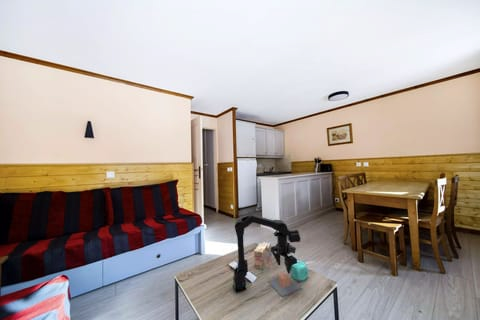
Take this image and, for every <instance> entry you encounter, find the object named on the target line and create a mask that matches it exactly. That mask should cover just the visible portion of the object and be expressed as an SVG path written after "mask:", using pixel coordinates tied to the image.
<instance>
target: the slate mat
mask: <svg viewBox="0 0 480 320" xmlns="http://www.w3.org/2000/svg"><path fill="white" fill-rule="evenodd" d="M267 283H268V284H270V285H271V286H272V288H273V289H274V290H275V291H276V293H277V294H279V296H280V297H282V298H283V297H285V296H288V295H290V294H292V293H295V292H298V291H300V290H302V289H303V287H302V286H300V285H299V283H297V282H296V281H295V279H293V277H292V278H291V277H290V286H287V287H285V288H283V287H282V286H281V285H280V284H279V283H278V276H277V277H274V278H271V279H269V280H267Z"/></svg>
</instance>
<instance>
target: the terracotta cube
mask: <svg viewBox="0 0 480 320" xmlns="http://www.w3.org/2000/svg"><path fill="white" fill-rule="evenodd" d="M277 277H278V283H279V284H280V285H281V286H282V287H283V288H285V287H287V286H290V278H291V276H290V275H289V274H288V273H287V272H285V271H284V272H281V273H278V274H277Z"/></svg>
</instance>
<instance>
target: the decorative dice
mask: <svg viewBox="0 0 480 320" xmlns="http://www.w3.org/2000/svg"><path fill="white" fill-rule="evenodd" d="M308 270H309V269H308V267H307V265H306V264H305V262H303V261H301V260H297V263H296V264H294V265H292V267H291V271H290V274H291V276H292V279H293V278H294V279H293V280H296V281H300V282H301V281H305V280H306V279H307V278H308V276H309V271H308Z"/></svg>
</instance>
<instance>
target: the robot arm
mask: <svg viewBox="0 0 480 320" xmlns="http://www.w3.org/2000/svg"><path fill="white" fill-rule="evenodd" d="M253 223H254V224H258V225H261V226H265V227H268V228H271V229H273V230H275V232H274V233H273V236H274V237H276V238H277V243H275V245H273V246H271V255H273V257H274V259H275V261H276V263H277V266H281V257H283V258H284V265H285V269H286V273H287V275H289V274H291V272H290V271H291V267H292V265H294V264H296V263H297V261H298V258H296V257H295V256H294V255H292V254H296V250H297V248H296V247H295V246H293V245H292V244H291V243H301V236H300V233H299V230H298V229H293V230H289V228H288V226H287V224H286V223H285V222H284V220H282V219H269V218H266V217H262V216H259V215H255V214H253V213H249V214H248V215H245V216H243V217H242V218H238V219H236V220H235V221H234V229H235V234H236V237H237V238H236V239H237V257H238V258H237V264H236V265H237V266H236V267H235V268H234V270H233V277H232V278H233V280H232V281H233V284H232V288H233V290H234V291H235V293H236V294H237V293H240V292H243V291H246V290H247V287H246V286H247V282H246V281H247V279H246V276H247V275H248V273H249V268H248V266H249V265H248V259H245V247H244V246H245V245H244V243H245V242H244V236H245V235H244V234H245V229H246V228H248V227H249V226H250V225H251V224H253ZM290 254H291V255H290Z"/></svg>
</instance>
